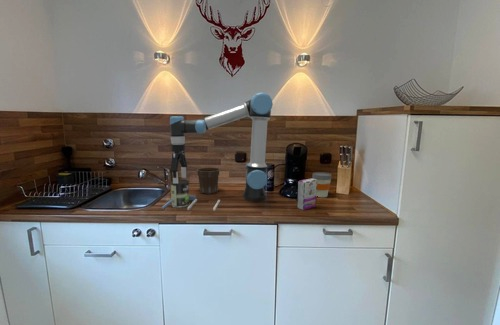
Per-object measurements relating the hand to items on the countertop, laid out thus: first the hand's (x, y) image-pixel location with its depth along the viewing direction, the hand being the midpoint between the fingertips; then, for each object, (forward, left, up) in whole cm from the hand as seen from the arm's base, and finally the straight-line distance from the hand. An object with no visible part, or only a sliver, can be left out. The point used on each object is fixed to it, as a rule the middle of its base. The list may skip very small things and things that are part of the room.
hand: (180, 180), depth 138 cm
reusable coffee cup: (-88, -27, -15) cm, 93 cm away
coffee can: (0, 0, -15) cm, 15 cm away
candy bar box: (-74, -2, -15) cm, 75 cm away
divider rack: (-7, 0, -15) cm, 16 cm away
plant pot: (-10, -29, -15) cm, 34 cm away
